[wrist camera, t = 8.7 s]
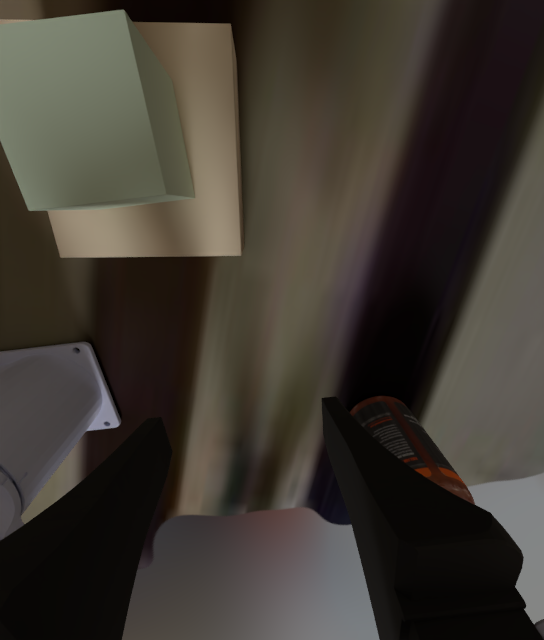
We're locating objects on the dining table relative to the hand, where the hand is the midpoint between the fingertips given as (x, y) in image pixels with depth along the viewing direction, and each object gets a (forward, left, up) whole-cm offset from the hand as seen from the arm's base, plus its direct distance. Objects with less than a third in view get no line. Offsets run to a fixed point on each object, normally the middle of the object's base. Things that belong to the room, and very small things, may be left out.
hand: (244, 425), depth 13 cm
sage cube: (-4, +12, -6) cm, 14 cm away
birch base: (-4, +12, -10) cm, 16 cm away
